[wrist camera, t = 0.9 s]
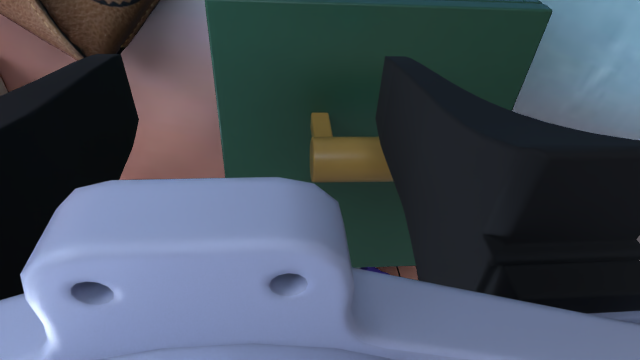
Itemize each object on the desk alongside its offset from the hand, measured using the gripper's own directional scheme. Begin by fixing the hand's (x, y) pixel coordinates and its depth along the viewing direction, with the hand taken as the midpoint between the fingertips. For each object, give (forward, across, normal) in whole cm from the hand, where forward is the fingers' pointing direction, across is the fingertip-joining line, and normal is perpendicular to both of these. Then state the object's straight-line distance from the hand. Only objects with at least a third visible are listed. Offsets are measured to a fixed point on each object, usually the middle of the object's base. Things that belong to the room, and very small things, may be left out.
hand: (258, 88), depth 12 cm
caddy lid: (+4, -4, +6) cm, 8 cm away
